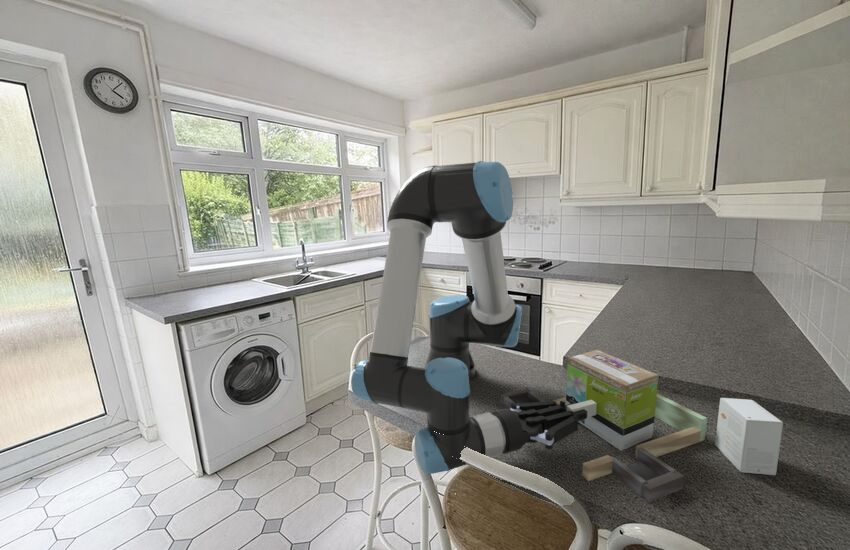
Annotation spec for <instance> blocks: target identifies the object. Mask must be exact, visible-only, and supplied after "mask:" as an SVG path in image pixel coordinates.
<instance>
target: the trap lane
mask: <svg viewBox="0 0 850 550" xmlns="http://www.w3.org/2000/svg"><path fill="white" fill-rule="evenodd" d="M552 401H555V402H557V405H560V401H564V402H565V405H566V396H565V397H561V398H557V399H553V400H552ZM533 402H545V400H544V399H543V398H541V397H540V396H539V395H537V394H536V392H533V391H532V390H530V389H529V388H524V389H519V390H515V391H510V392H506V393H502V394H500V404H501V406H502V407H504V409H510V403H521V404H522V403H533ZM549 407H551V406H549ZM655 418H656V419H658V420H660V421H662V422H664V423H665V424H667V425H669V426H671V427H672V428H674V429H676V430H678V431H676V432H673V433H670V434H668V435H664V436H661V437H658V438H654V439H652V440H649V441H646V442H644V443H643V442H642V443H639V444H636V445H635V453H634V455H635V456H634V457H635V458H636V461H637V462H635V463H633V464H630V465H626V464H624V463H623V462H621V461H620V460H619V459H617V458H616V457H615V456H611V455H609V454H607V455H603V456H601V457H598V458H595V459H591V460H589V461H585V462H583V463H582V470H581V471H582V472H581V476H582V477H583V478H584V479H585V480H586V481H588V482H590V481H593V480H597V479H598V478H602V477H605V476H607V475H610V474H613V475H614V476H615V477H616V478H617V479H619V480H620V481H621V482H623V483H624V484H625V485H626V486H628V487H629V488H630V489H631V490H633V491H634V492H635V493H636V494H637V495H639V496H640V497H641V498H643V499H644V501H646V502H647V503H652V502H654V501H657V500H658V499H661V498H663V497H666V496H668V495H671V494H675V493H676V492H678V491H681V490H683V489H684V481H685V475H683V474H682V473H680V471H678V470H676V469H675V468H674V467H672V466H670V465H669V464H667V463H666V462H664V461H663V460H661V459H659V457H660V456H663V455H667V454H669V453H672V452H675V451H678V450H680V449H681V450H682V449H683V448H687V447H689V446H692V445H694V444H698V443H700V442H703V441H705V440H706V431H707V422H708V418H707V417H706V416H704V415H702V414H700V413H698V412H696V411H694V410H692V409H691V408H688V407H686V406H683V405H682V404H681V403H680V404H679V403H677V402H676V401H673V400H671V399H670V398H668V397H665V396H663V395H661V394H659V393H657V398H656V408H655Z"/></svg>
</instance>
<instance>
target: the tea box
mask: <svg viewBox="0 0 850 550" xmlns="http://www.w3.org/2000/svg"><path fill="white" fill-rule="evenodd" d="M659 378H660V377H659V374H658V373H655V372H652V371H650V370H648V369H645V368H644V367H640V366H639V365H636V364H634V363H631V362H629V361H626V360H624V359H621V358H618V357H617V356H614V355H611V354H610V353H607V352H604V351H602V350H600V349H595V350H591V351H587V352H583V353H581V354H578V355H577V354H576V355H574V356H570V357H569V356H568V357H567V369H566V387H565V388H566V389H565V390H566V392H565V397H566V405H569V404H576V403H580V402H584V401H588V400H593V401H594V402H596V403H597V409H596V415H594V416H590V417H587V418H586V419H583V420H580V421H578V424H579V423H580V425H582V426H583V427H585V428H587V429H588V430H590V431H592V432H593V433H594V434H596V435H597V436H598V437H600V438H602V440H604V441H606V442H607V443H608V444H610V445H612V447H614V448H615V449H617V450H619V451H620V452H622V451H625V450H627V449H630V448H632V447H634V446H637V445H639V444H642V443H643V442H645V441H648V440H649V439H651V438H653V436H654V435H653V434H654V427H655V426H654V425H655V418H656V417H655V408H656V398H657V394H658V388H659V387H658V385H659ZM638 443H639V444H638ZM633 445H634V446H633ZM631 446H632V447H631ZM629 447H630V448H629Z"/></svg>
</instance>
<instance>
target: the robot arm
mask: <svg viewBox="0 0 850 550" xmlns="http://www.w3.org/2000/svg"><path fill="white" fill-rule="evenodd" d="M512 187H513V186H512V183H511V177H510V175H509V172H508V170H507V168H506V167H505V165H503V164H502V163H501V162H499V161H482V160H480V161H478V160H477V161H476V162H468V163H454V164H453V163H452V164H444V165H429V166H426V167H422V168H421V169H419V170H417V171H416V172H415V173H413V174H412V175H411V176H410V177H409V178H408V179H407V180H406V181H405V182H404V184H403V185H402V186H401V187H400V189H399V190H398V191H397V193H396V195H395V197H394V199H393V200H392V201H393V202H392V204H391V206H390V209H389V211H388V216H387V221H386V228H387V229H388V231H389V232H390V233H389V239H388V245H387V251H386V256H385V257H386V258H385V263H384V268H383V274H382V281H381V285H380V286H381V287H380V292H379V298H378V303H377V310H376V315H375V320H374V321H375V322H374V326H373V327H374V329H373V333H372V334H373V335H372V340H371V345H370V350H369V356H368V359H362V360H360V361H359V362H358V363H357V364H356V366H355V368H354V371H353V372H352V374H351V380H350V383H351V385H350V386H351V387H350V388H351V391H352V393H353V396H355V397H356V398H358V399H360V400H363V401H369V402H371V403H374V404H376V405H378V404H380V405H385V406H391V407H396V408H401V409H406V410H409V411H416V412H420V413H424V414H426V417H427V418H426V424H427V426H424V427H423V428H420V429H417V430H416V432H415V434H414V449H415V455H416V457H417V458H416V459H417V462H418V464H419V466H420V469H421V470H422V471H423V472H424V473H425V474H428V475H432V474H438V473H444V472H449V471H451V470H454V469H456V468H460V467H463V466H466V465H467V464H466V463H465V462H462V460H460V459H459V458H460V457H461V454H460V453H461V451H462V450H463V449H464V448H466V447H468V448H470V449H472V450H474V451H477V452H479V453H481V454H484V455H486V456H489V457H490V458H493V457H494V458H495V457H497V456H501V455H502V454H509V453H512V452H516V451H519V450H520V449H522V448H523V446H524V445H526V444H535V443H537V442H539V443H542V444H544V447H545V448H546V449H547V450H552V449H553V447H554V446H555V444H556V443H558V442H559V441H562V440H563V439H565V438H567V437H568V436H570V435H572V434H573V433H575V432H577V431H578V428H579V422H578V421H580V420H583V419H586V418H587V417H590V416H594V415H596V409H597V403H596V402H594V401H593V400H588V401H584V402H580V403H576V404H569V405H565V402H564V401H560V405H557V402H555V401H553V400H549V401H548V400H547V401H545V400H544V401H545V402H533V403H522V404H521V403H510V409H506V408H503V409H499V410H493V411H491V412H484V413H481V414H480V413H479V414H477V415H476V414H475V415H473V416H470V394H471V388H470V380H471V379H473V378H474V377H475V375H476V365H475V361H474V358H473V355H472V353H471V349H470V344H478V345H484V346H492V347H493V346H494V347H500V348H514V347H516V346H517V344H518V341H519V336H520V334H519V333H520V329H521V322H522V321H521V320H522V313H523V307H522V306H521V305H519V304H516V303H515V300H514V299H513V297H512V296H511V295H510V294H508V286H507V285H508V284H507V283H508V282H507V277H506V269H505V268H506V267H505V260H504V259H505V258H504V251H503V249H504V248H503V242H502V235H501V233H502V231H503V230H504V228H505V227H506V225H507V221H509V220H511V219H512V216H513V210H514V199H513V188H512ZM435 223H451V228H452V231H453V233H454V235H456V236H457V237H458V238H460V239H461V240H462V244H463V250H464V255H465V258H466V264H467V268H468V274H469V277H470V278H469V279H470V282H471V287H472V288H471V289H472V294H473V298H474V300H473V301H472V302H471V301H470V299H469V297H468V295H462V294H460V295H459V294H457V295H447V296H443V297H439V298H436V299H434V300H432V302H430V305H429V314H428V318H429V319H428V321H429V347H430V348H429V352H428V355H427V357H426V361H425V365H424V367H418V366H412V365H411V366H410V365H408V363H409V353H410V347H411V340H412V332H413V326H414V320H415V313H416V307H417V300H418V294H419V287H420V281H421V273H422V269H423V268H422V267H423V260H424V254H425V249H426V241H427V238H428V237H430V236H431V235H432V232H433V228H434V227H433V226H434V224H435ZM549 406H551V407H549ZM434 431H435V432H434ZM436 432H437V433H436ZM439 433H440V434H439ZM443 434H444V435H443ZM464 446H465V447H464ZM452 456H453V457H452ZM456 458H457V459H456Z"/></svg>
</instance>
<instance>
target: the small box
mask: <svg viewBox="0 0 850 550" xmlns="http://www.w3.org/2000/svg"><path fill="white" fill-rule="evenodd" d="M783 426H784V421H782V420H780V419H779V418H778V417H776V416H775V415H774V414H772V413H771V412H769V411H768V410H767V409H765V408H764V407H762V406H761V405H760V404H758V403H757V402H756V401H755V400H753V399H745V398H732V397H731V398H730V397H729V398H728V397H721V398H719V406H718V414H717V425H716V433H715V434H716V435H715V441H714V442H715V443H714V445H715V447H717V449H719V451H720V452H721V453H722V454H723V455H724V456H725V457H726V458H727V460H729V461H730V463H732V465H734V467H735V468H736V469H737V470H738V471H739V472H740V473H744V474H745V473H746V474H759V475H767V476H776V475H777V470H778V469H777V468H778V465H779V464H778V461H779V457H780V456H779V454H780V448H781V442H782V435H783V434H782V433H783Z"/></svg>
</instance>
